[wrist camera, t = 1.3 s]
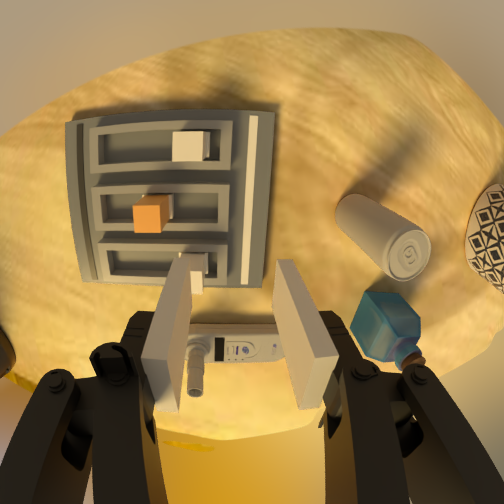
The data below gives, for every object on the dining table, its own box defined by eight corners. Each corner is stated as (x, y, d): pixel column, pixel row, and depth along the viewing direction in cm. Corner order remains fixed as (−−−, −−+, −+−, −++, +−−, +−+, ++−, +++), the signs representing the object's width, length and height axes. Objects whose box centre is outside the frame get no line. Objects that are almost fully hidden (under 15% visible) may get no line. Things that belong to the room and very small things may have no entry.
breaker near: (178, 156, 25) (168, 161, 20) (179, 132, 24) (169, 131, 20) (209, 156, 25) (206, 161, 21) (210, 132, 24) (207, 131, 20)
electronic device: (300, 401, 30) (173, 405, 27) (283, 349, 39) (178, 349, 36) (310, 373, 28) (167, 376, 25) (289, 320, 36) (175, 319, 34)
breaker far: (181, 269, 30) (174, 293, 25) (180, 248, 29) (172, 270, 24) (208, 269, 30) (205, 294, 26) (208, 249, 29) (205, 271, 25)
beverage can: (357, 183, 29) (421, 215, 18) (376, 215, 31) (438, 258, 20) (325, 209, 30) (376, 254, 19) (346, 240, 32) (398, 293, 21)
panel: (86, 277, 31) (77, 288, 28) (70, 122, 23) (58, 122, 20) (260, 282, 33) (263, 294, 30) (273, 113, 25) (277, 111, 23)
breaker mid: (146, 216, 27) (131, 232, 22) (144, 193, 26) (129, 205, 22) (174, 215, 27) (164, 232, 23) (173, 192, 26) (163, 205, 22)
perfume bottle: (398, 293, 36) (443, 345, 25) (382, 327, 38) (419, 381, 27) (364, 291, 35) (408, 349, 24) (349, 327, 37) (383, 388, 27)
